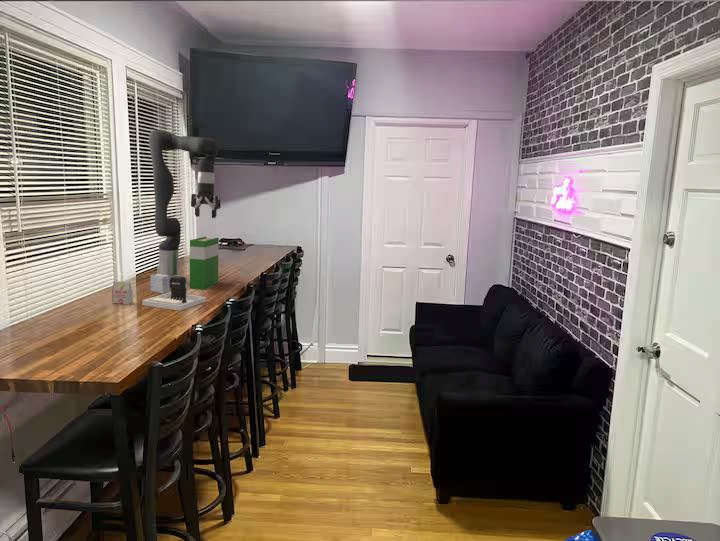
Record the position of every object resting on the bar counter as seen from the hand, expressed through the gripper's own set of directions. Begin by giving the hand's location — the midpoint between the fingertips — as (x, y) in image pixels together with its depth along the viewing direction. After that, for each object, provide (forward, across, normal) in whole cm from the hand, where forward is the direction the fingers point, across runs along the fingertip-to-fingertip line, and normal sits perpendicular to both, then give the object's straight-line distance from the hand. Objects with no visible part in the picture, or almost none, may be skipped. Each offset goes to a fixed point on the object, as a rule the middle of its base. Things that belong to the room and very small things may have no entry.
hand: (205, 217), depth 231 cm
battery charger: (+35, -4, +26) cm, 44 cm away
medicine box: (+36, +15, +13) cm, 41 cm away
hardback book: (+36, +8, -12) cm, 39 cm away
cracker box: (+35, -4, +34) cm, 49 cm away
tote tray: (+36, -4, +28) cm, 46 cm away
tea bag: (+36, +14, +38) cm, 54 cm away
